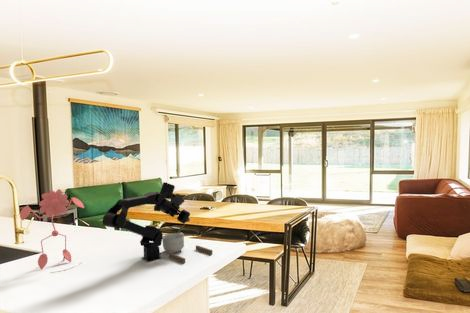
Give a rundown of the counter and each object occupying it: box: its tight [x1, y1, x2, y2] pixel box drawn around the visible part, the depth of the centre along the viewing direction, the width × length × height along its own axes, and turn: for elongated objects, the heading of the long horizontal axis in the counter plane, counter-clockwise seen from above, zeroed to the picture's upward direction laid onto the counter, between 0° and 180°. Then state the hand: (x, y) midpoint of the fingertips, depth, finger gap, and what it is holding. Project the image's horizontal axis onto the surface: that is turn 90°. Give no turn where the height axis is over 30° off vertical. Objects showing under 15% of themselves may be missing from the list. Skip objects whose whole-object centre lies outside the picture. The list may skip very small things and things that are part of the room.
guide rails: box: [168, 244, 213, 264], centre depth 166 cm, size 17×12×2 cm
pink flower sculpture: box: [19, 188, 85, 274], centre depth 154 cm, size 15×26×35 cm, turn 132°
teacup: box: [162, 232, 185, 254], centre depth 175 cm, size 14×11×8 cm
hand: (183, 217), depth 184 cm, fingers open, 9 cm apart
